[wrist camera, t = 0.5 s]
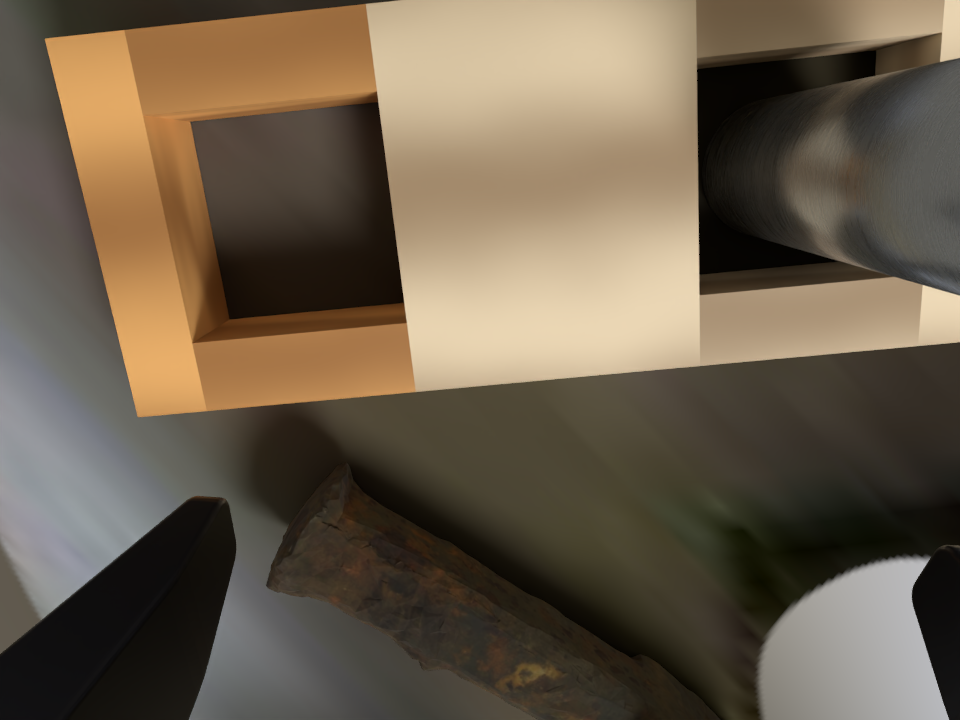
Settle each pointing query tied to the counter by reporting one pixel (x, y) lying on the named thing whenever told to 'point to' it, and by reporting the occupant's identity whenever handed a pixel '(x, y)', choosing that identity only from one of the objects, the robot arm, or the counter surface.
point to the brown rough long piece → (464, 614)
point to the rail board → (474, 193)
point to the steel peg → (850, 172)
